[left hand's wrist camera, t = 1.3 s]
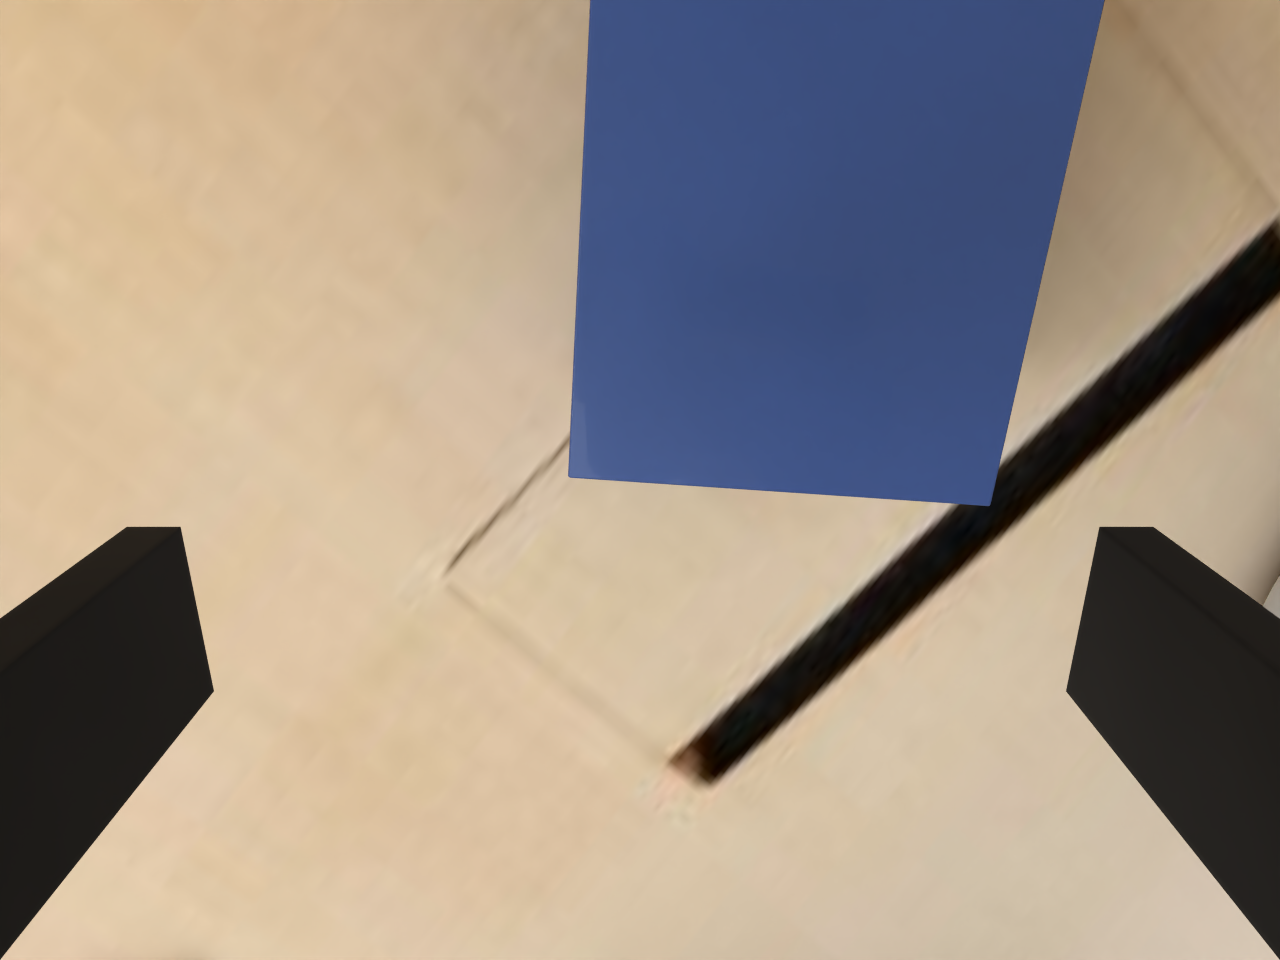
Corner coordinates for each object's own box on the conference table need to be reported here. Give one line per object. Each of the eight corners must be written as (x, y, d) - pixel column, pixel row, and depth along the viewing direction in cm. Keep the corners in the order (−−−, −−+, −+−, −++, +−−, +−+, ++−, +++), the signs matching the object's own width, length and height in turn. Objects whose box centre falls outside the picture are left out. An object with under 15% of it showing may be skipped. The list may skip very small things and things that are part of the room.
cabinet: (618, -138, 27) (605, -335, 17) (963, -109, 28) (1170, -284, 17) (591, 375, 33) (567, 478, 22) (876, 395, 33) (990, 507, 23)
